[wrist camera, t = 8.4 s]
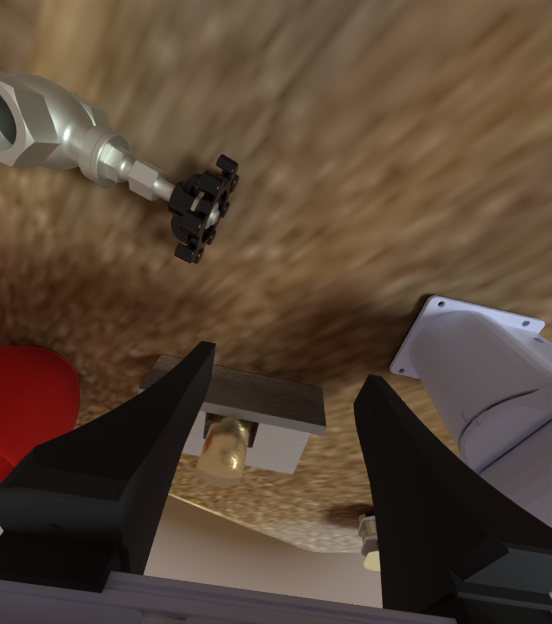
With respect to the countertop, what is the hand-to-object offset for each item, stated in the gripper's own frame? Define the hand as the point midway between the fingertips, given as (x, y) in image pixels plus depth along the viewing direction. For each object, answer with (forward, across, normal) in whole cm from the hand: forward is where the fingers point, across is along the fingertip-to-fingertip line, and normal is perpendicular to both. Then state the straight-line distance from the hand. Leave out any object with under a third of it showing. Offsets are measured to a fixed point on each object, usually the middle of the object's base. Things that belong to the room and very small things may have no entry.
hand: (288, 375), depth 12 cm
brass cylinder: (+10, +2, +16) cm, 19 cm away
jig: (+10, +2, +16) cm, 19 cm away
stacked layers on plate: (+10, -20, +31) cm, 39 cm away
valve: (+11, +11, -6) cm, 17 cm away
